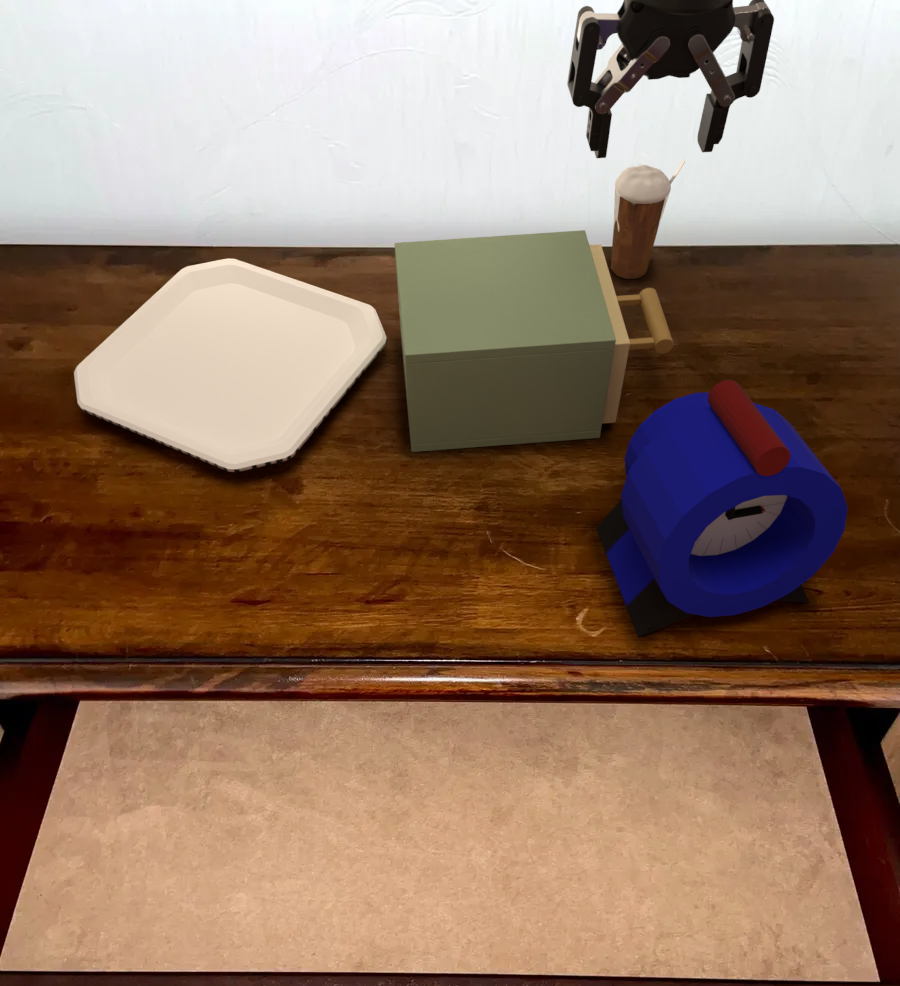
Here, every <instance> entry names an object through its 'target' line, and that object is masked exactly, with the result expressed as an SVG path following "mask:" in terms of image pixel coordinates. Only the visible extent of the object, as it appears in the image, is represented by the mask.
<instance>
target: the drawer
mask: <svg viewBox="0 0 900 986" xmlns="http://www.w3.org/2000/svg"><path fill="white" fill-rule="evenodd" d="M589 246H590V250H591V253H592V257H593V260H594V264H595V267H596V271H597V274H598V278H599V281H600V285H601V289H602V292H603V296H604V299H605V303H606V306H607V310H608V313H609V317H610V320H611V324H612V327H613V331H614V335H615V338H616V343H615V348H614V355H613V361H612V367H611V373H610V379H609V385H608V391H607V397H606V403H605V409H604V415H603V421H602V425H604V424H614V423H616V422H617V418H618V412H619V407H620V400H621V395H622V389H623V385H624V380H625V374H626V367H627V363H628V358H629V351H634V350H647V349H648V350H649V349H654V351H655V353H657V354H662V355H663V354H667V353H669V352H670V351H671V350H672V349H673V348H674V341H673V337H672V335H671V332H670V328H669V325H668V322H667V320H666V317H665V313H664V311H663V308H662V305H661V302H660V298H659V294H658V293H657V290H656V289H655V288H653V287H645V288H643V289H642V290H641V291H640V292H639V293H638V294H627V295H626V294H625V295H617V294H616V291H615V287H614V283H613V280H612V276H611V273H610V270H609V267H608V262H607V260H606V259H607V258H606V257H605V253H604V250H603V246H602V244H599V243H598V244H589ZM631 306H640V307H641V311H642V313H643V316H644V320H645V323H646V325H647V330H648V332H649V335H650V337H639V338H637V337H636V338H629V334H628V331H627V328H626V324H625V321H624V318H623V317H624V316H623V313H622V311H621V307H631Z"/></svg>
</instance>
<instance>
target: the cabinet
mask: <svg viewBox="0 0 900 986" xmlns="http://www.w3.org/2000/svg"><path fill="white" fill-rule="evenodd" d="M589 245H590V243H589V238H588V236H587V233H586V230H585V229H584V230H583V229H582V230H567V231H566V230H565V231H554V232H537V233H521V234H507V235H492V236H479V237H463V238H448V239H434V240H431V239H430V240H418V241H404V242H403V241H402V242H394V257H395V268H396V269H395V271H396V285H397V297H398V299H397V300H398V312H399V324H400V327H399V328H400V341H401V342H400V343H401V351H402V352H401V353H402V360H403V361H402V363H403V373H404V385H405V396H406V407H407V417H408V428H409V439H410V441H409V442H410V451H411V453H417V452H418V453H419V452H432V451H445V450H458V449H471V448H484V447H499V446H508V445H509V446H510V445H523V444H537V443H548V442H549V443H550V442H562V441H565V442H566V441H577V440H589V439H601V438H600V437H601V433H602V427H603V426H602V425H603V424H602V421H603V415H604V409H605V403H606V397H607V391H608V385H609V379H610V373H611V367H612V361H613V355H614V348H615V343H616V338H615V335H614V331H613V327H612V324H611V320H610V317H609V313H608V310H607V306H606V303H605V299H604V296H603V292H602V289H601V285H600V281H599V278H598V274H597V271H596V267H595V264H594V260H593V257H592V253H591V250H590V246H589Z"/></svg>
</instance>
